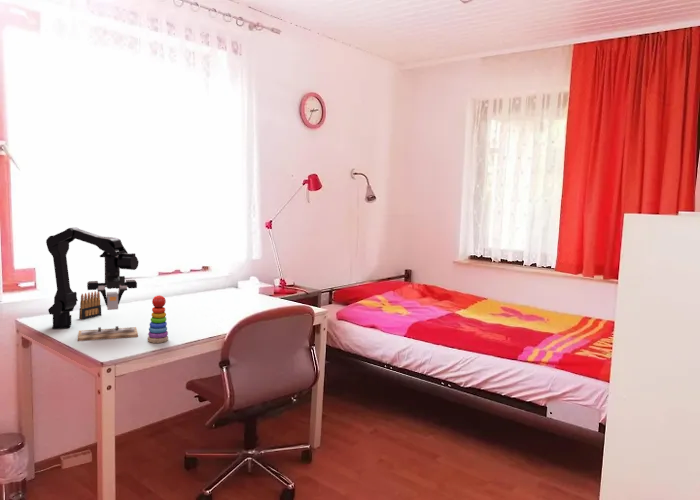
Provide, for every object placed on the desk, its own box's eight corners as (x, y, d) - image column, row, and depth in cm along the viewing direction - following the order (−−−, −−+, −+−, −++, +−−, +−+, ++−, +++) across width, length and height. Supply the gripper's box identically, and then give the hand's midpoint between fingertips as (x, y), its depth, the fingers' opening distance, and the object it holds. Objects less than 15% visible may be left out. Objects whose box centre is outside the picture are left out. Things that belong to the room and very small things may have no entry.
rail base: (77, 340, 204) (77, 333, 204) (78, 332, 215) (78, 325, 214) (137, 336, 214) (138, 329, 213) (136, 329, 224) (136, 322, 224)
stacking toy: (143, 342, 206) (143, 296, 204) (154, 337, 214) (154, 292, 212) (161, 344, 205) (162, 298, 203) (171, 339, 213) (172, 294, 211)
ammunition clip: (98, 314, 246) (98, 290, 244) (101, 315, 245) (101, 290, 244) (79, 319, 236) (79, 293, 235) (82, 319, 235) (81, 294, 234)
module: (107, 309, 213) (107, 295, 213) (106, 306, 220) (106, 292, 219) (118, 309, 215) (118, 294, 215) (117, 305, 222) (116, 291, 221)
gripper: (87, 271, 204) (87, 310, 206) (138, 270, 213) (138, 307, 215) (87, 267, 214) (87, 304, 216) (135, 266, 223) (135, 302, 224)
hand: (112, 304), depth 217 cm, fingers closed on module, 4 cm apart
